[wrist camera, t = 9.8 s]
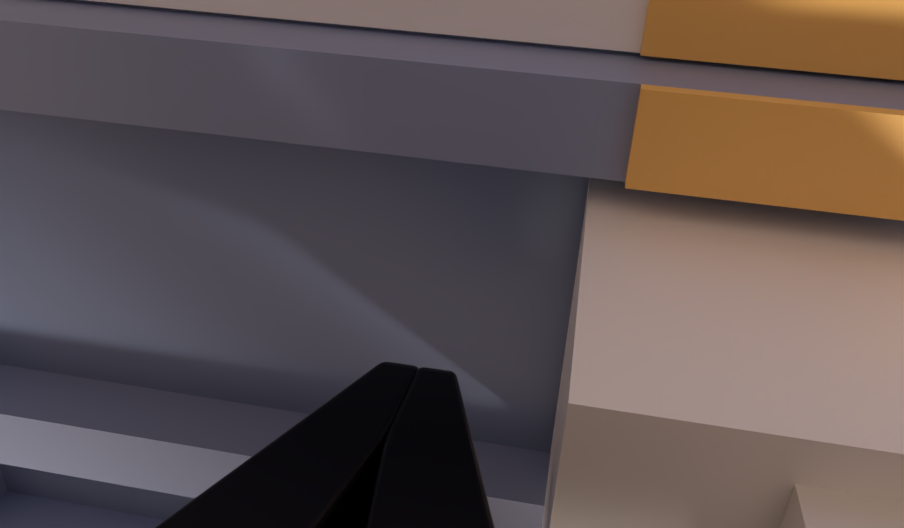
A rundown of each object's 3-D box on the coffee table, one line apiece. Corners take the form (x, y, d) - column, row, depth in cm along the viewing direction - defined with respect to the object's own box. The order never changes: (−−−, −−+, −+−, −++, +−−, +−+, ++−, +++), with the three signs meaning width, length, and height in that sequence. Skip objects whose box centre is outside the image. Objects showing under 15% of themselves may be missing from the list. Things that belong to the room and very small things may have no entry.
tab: (977, 217, 9) (1279, 580, 5) (862, 495, 11) (1002, 913, 7) (590, 174, 9) (562, 463, 5) (551, 446, 11) (510, 804, 7)
